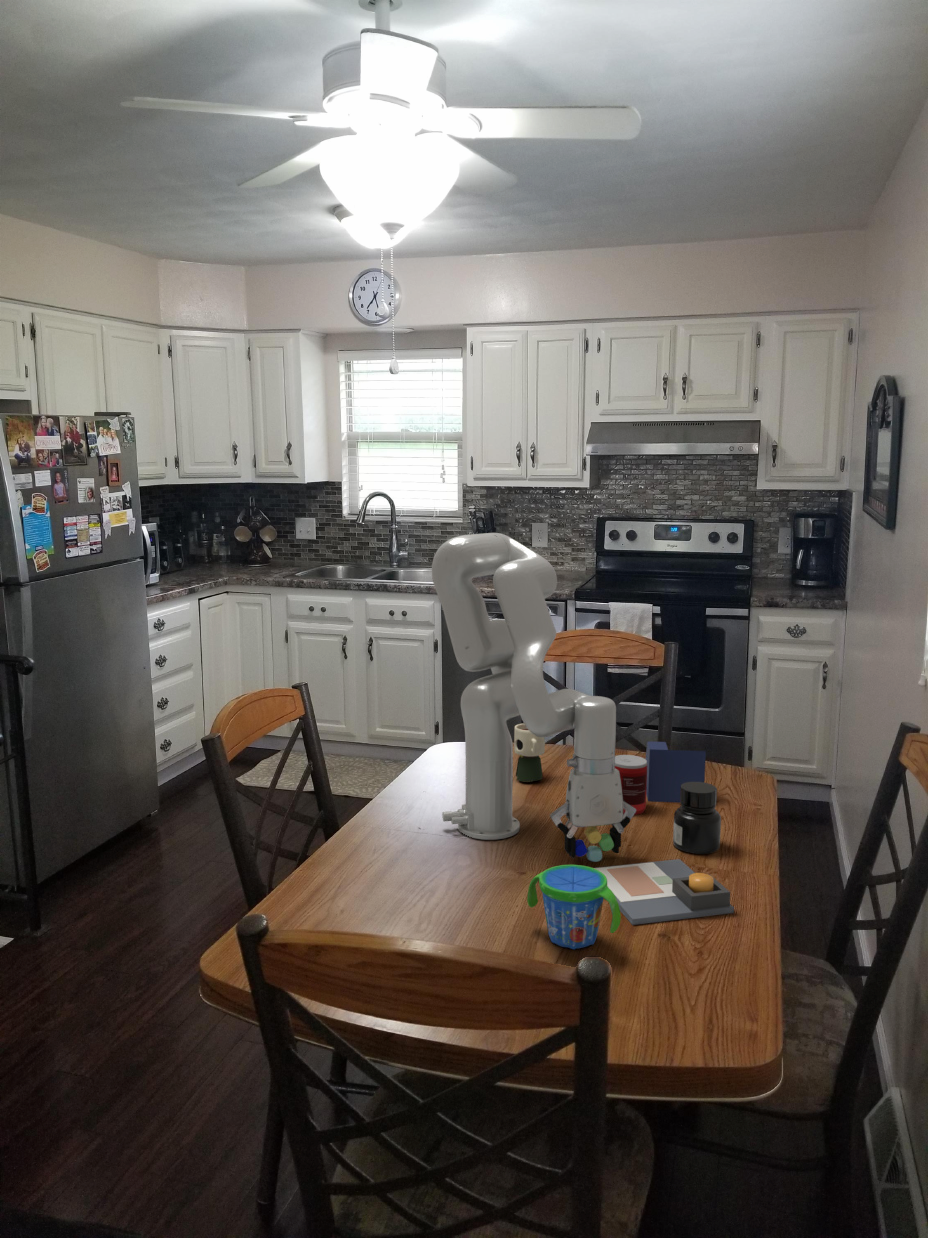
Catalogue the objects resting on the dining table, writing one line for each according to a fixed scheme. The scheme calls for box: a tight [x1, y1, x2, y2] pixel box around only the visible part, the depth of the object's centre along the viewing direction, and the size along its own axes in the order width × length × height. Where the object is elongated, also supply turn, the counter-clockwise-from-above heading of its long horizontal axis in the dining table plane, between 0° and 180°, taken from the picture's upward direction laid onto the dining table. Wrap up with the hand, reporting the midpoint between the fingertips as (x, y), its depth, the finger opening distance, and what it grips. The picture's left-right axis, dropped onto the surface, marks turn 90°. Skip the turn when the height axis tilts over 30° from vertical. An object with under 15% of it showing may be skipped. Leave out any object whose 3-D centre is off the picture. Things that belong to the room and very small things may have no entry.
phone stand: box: [644, 741, 707, 804], centre depth 214 cm, size 12×12×12 cm
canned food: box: [615, 754, 647, 816], centre depth 204 cm, size 8×8×11 cm
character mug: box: [513, 722, 546, 783], centre depth 222 cm, size 11×7×13 cm, turn 10°
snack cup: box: [526, 864, 622, 950], centre depth 148 cm, size 16×10×10 cm
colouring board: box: [593, 858, 735, 926], centre depth 165 cm, size 18×20×4 cm
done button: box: [689, 872, 715, 893], centre depth 160 cm, size 4×4×2 cm
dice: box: [576, 826, 614, 863], centre depth 178 cm, size 8×3×6 cm, turn 98°
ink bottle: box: [672, 781, 722, 855], centre depth 184 cm, size 10×9×12 cm
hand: (592, 852), depth 179 cm, fingers closed on dice, 8 cm apart
